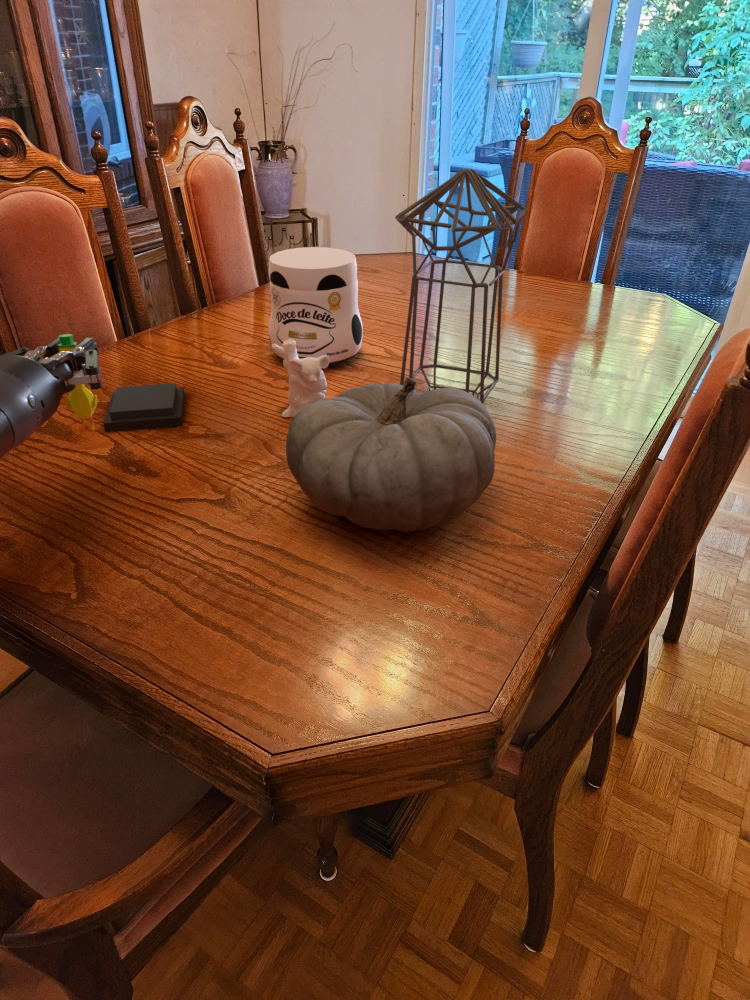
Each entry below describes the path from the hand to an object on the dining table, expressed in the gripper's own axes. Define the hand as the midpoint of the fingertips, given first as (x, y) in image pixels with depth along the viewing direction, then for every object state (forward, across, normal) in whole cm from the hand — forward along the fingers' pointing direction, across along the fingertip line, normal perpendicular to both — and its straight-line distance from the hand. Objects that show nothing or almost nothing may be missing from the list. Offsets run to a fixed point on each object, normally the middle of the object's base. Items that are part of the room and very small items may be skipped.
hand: (78, 345), depth 81 cm
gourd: (-5, +39, -18) cm, 43 cm away
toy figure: (-3, 0, -10) cm, 11 cm away
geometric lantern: (+22, +47, -18) cm, 55 cm away
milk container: (+43, +22, -18) cm, 52 cm away
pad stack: (+16, 0, -18) cm, 23 cm away
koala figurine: (+19, +24, -18) cm, 35 cm away
